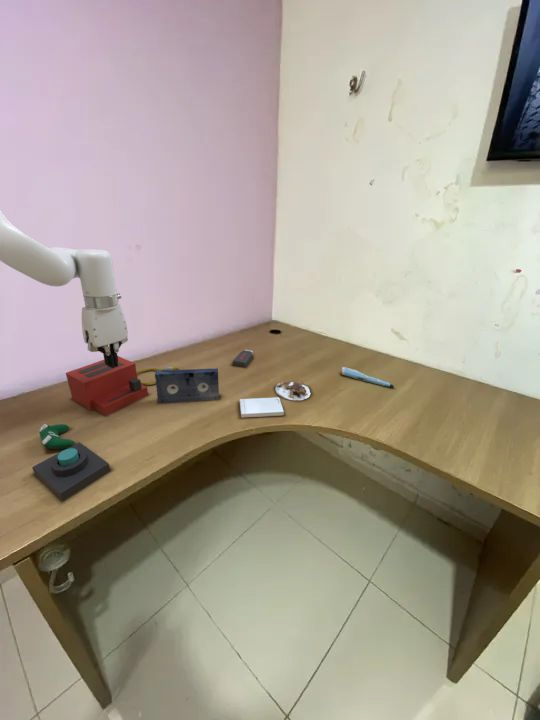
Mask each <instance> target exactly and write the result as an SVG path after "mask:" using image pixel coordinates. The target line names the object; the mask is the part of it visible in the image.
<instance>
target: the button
mask: <svg viewBox="0 0 540 720" xmlns="http://www.w3.org/2000/svg"><path fill="white" fill-rule="evenodd" d="M58 453H59V454H58ZM58 453H57V454H58V461H59V464H60V465H61V466H68V465H72V464H73V463H75V462H77V461H78V459H79V455H78V452H77V450H76V449H74V448H70V449H67V448H65V449H64V450H61V451H59V452H58Z"/></svg>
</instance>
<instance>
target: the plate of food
mask: <svg viewBox="0 0 540 720" xmlns="http://www.w3.org/2000/svg"><path fill="white" fill-rule="evenodd" d="M274 391H275V393H276V395H277V396H279V398H282V399H284V400H289V401H304V400H306V399H309V398H310V396H311V391H310V388H309V386H307V385H306V384H304V383H303V381H279V382H278V383H277V384H275V388H274Z"/></svg>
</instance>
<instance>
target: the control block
mask: <svg viewBox="0 0 540 720" xmlns="http://www.w3.org/2000/svg"><path fill="white" fill-rule="evenodd" d="M70 448H74V449H76V450H77V452H78V455H79V459H78V461H77V462H75V463H73V464H72V465H68V466H61V465H60V464H59V461H58V454H59V453H60V452H58V453H56V454H54V455H52V456H50V457H48V458H46V459H44V460H43V461H41V462H39V463H37V464H35V465H33V466H31V468H32V472H33V474H34V476H36V478H37V479H39V480H40V481H41V483H43V484H44V485H45V486H46V487H47V488H48V489H49V490H50V491H51V492H52V493H54V495H55V496H57V498H58V499H59V500H61V501H62V502H65V501H66V500H68V499H69V498H71V497H72V496H74V495H75V494H77V493H78V492H80V491H81V490H83V489H84V488H86V487H87V486H89V485H91V484H92V483H93V482H96V481H98V479H101V478H102V477H103V476H104V475H107V474H108V473H109V472H111V468H110V464H109V462H107V461H106V460H105V459H104V458H103V457H101V456H99V455H98V454H97V453H96V452H94V451H92V450H91V449H90V448H88V447H87V446H86V445H85V444H83V443H81V441H79V442H77V443H74V445H73V446H71V447H69V448H66V449H70Z"/></svg>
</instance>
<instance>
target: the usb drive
mask: <svg viewBox="0 0 540 720" xmlns="http://www.w3.org/2000/svg"><path fill="white" fill-rule="evenodd" d="M253 352H254V351H253V350H249V349H243V350H242V351H240V352H239V353H238V354H237V355H236V357H235V358H234V359H233V360H232V367H240V368H245V369H246V368H247V366H249V364H250V363H251V361H252V360H253Z"/></svg>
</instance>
